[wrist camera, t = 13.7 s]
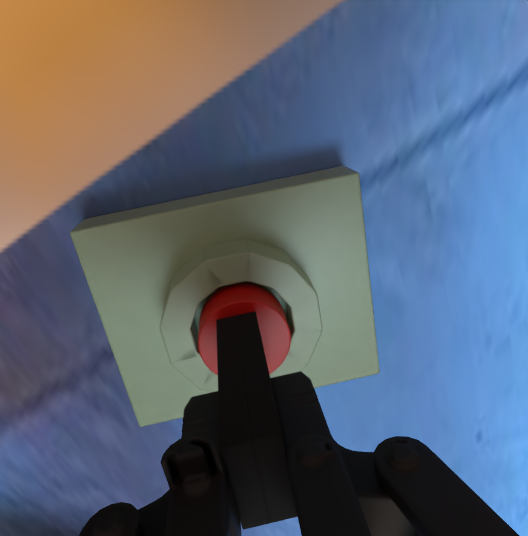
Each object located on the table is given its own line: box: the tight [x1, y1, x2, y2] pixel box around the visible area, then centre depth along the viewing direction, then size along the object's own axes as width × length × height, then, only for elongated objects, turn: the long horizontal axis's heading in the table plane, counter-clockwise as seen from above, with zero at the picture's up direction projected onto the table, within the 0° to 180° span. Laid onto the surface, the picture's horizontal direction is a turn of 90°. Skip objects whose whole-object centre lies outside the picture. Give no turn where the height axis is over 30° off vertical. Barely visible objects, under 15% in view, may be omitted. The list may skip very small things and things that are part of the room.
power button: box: [198, 283, 291, 375], centre depth 18 cm, size 4×4×2 cm
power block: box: [70, 166, 380, 427], centre depth 20 cm, size 12×10×4 cm
